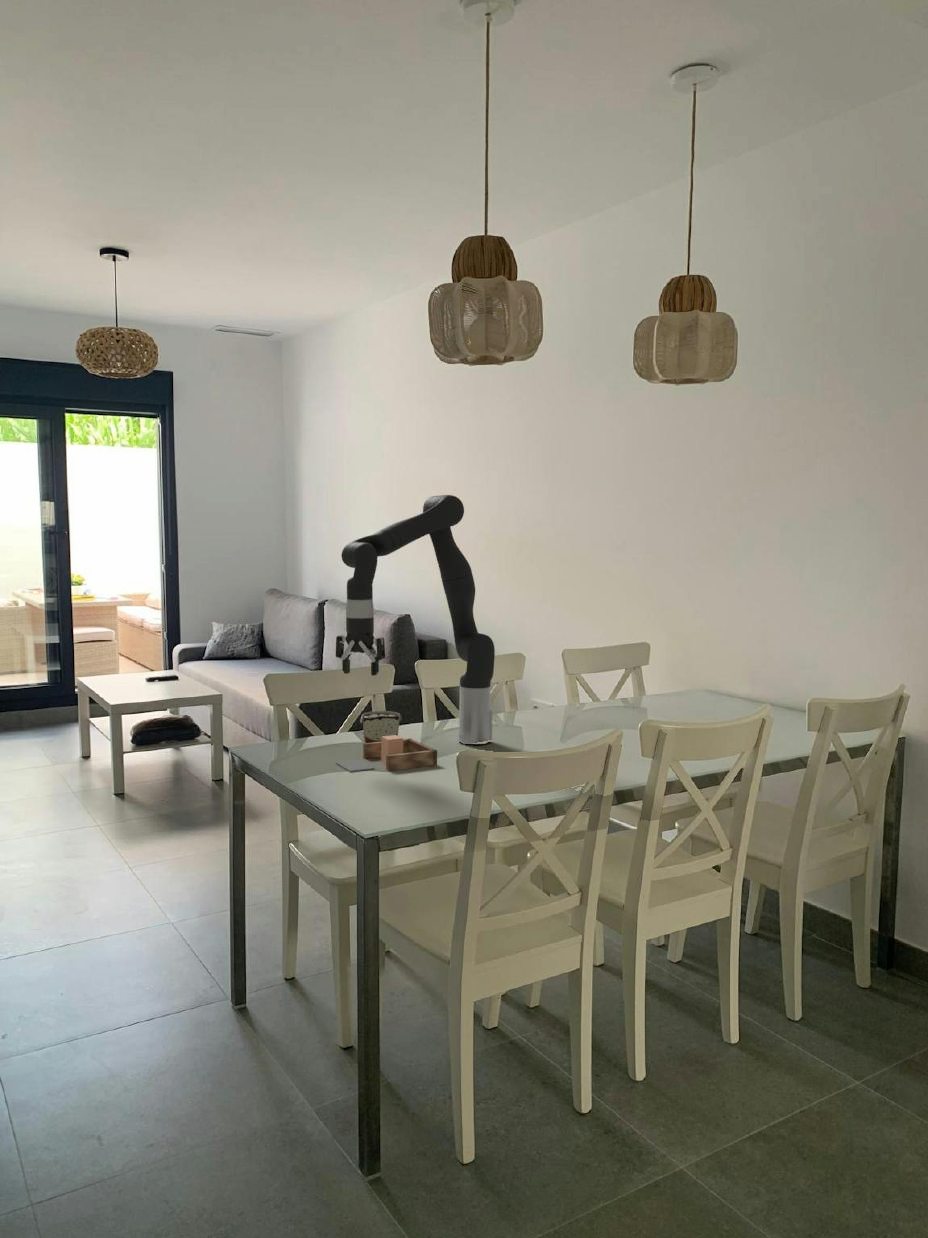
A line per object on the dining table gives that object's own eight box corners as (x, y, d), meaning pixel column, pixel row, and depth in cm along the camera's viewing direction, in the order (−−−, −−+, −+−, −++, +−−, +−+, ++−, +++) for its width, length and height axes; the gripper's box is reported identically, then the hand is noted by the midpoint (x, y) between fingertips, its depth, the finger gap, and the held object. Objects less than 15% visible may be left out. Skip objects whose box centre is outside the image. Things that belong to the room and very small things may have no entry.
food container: (395, 742, 289) (395, 709, 288) (401, 747, 283) (401, 713, 282) (355, 745, 285) (355, 712, 284) (360, 750, 279) (360, 716, 278)
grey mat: (359, 761, 266) (359, 759, 266) (374, 769, 257) (374, 767, 257) (335, 763, 263) (335, 762, 263) (350, 772, 254) (350, 770, 254)
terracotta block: (395, 759, 268) (396, 735, 268) (402, 763, 265) (403, 738, 264) (381, 761, 266) (381, 736, 266) (387, 765, 262) (388, 739, 262)
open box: (410, 752, 277) (410, 738, 277) (437, 765, 263) (437, 750, 263) (363, 757, 270) (363, 743, 270) (388, 771, 256) (388, 756, 255)
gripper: (389, 615, 264) (389, 674, 266) (344, 613, 269) (344, 670, 271) (376, 618, 257) (376, 678, 259) (330, 615, 263) (330, 674, 264)
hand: (360, 674), depth 265 cm, fingers open, 8 cm apart
